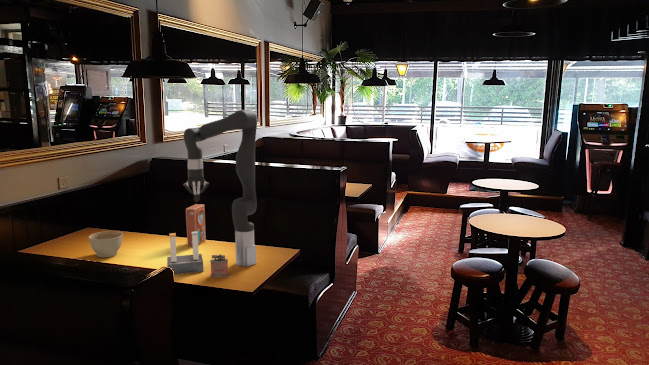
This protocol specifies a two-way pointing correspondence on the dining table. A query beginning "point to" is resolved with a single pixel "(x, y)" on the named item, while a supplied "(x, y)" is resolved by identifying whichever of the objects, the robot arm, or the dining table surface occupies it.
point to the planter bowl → (106, 243)
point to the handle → (195, 245)
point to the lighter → (219, 266)
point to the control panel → (195, 223)
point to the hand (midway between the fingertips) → (197, 201)
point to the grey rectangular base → (186, 264)
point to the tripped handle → (173, 247)
